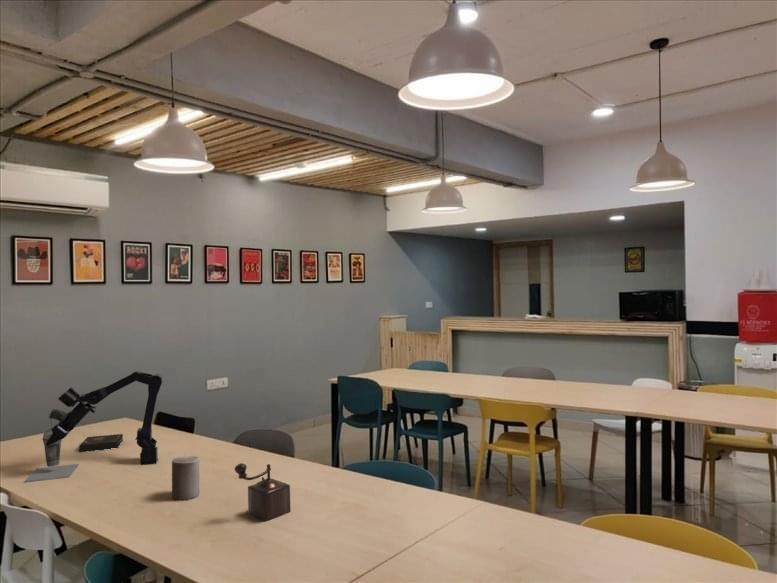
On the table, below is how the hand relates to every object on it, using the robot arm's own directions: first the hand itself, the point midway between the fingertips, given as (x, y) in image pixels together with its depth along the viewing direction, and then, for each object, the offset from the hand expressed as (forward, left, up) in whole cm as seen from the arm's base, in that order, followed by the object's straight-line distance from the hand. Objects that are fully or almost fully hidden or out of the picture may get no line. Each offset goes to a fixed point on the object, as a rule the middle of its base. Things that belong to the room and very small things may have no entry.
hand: (48, 442), depth 231 cm
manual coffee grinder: (-87, +73, -13) cm, 115 cm away
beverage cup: (-1, 0, -10) cm, 10 cm away
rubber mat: (-1, 0, -13) cm, 13 cm away
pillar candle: (-60, +46, -13) cm, 77 cm away
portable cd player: (-10, -42, -14) cm, 45 cm away
